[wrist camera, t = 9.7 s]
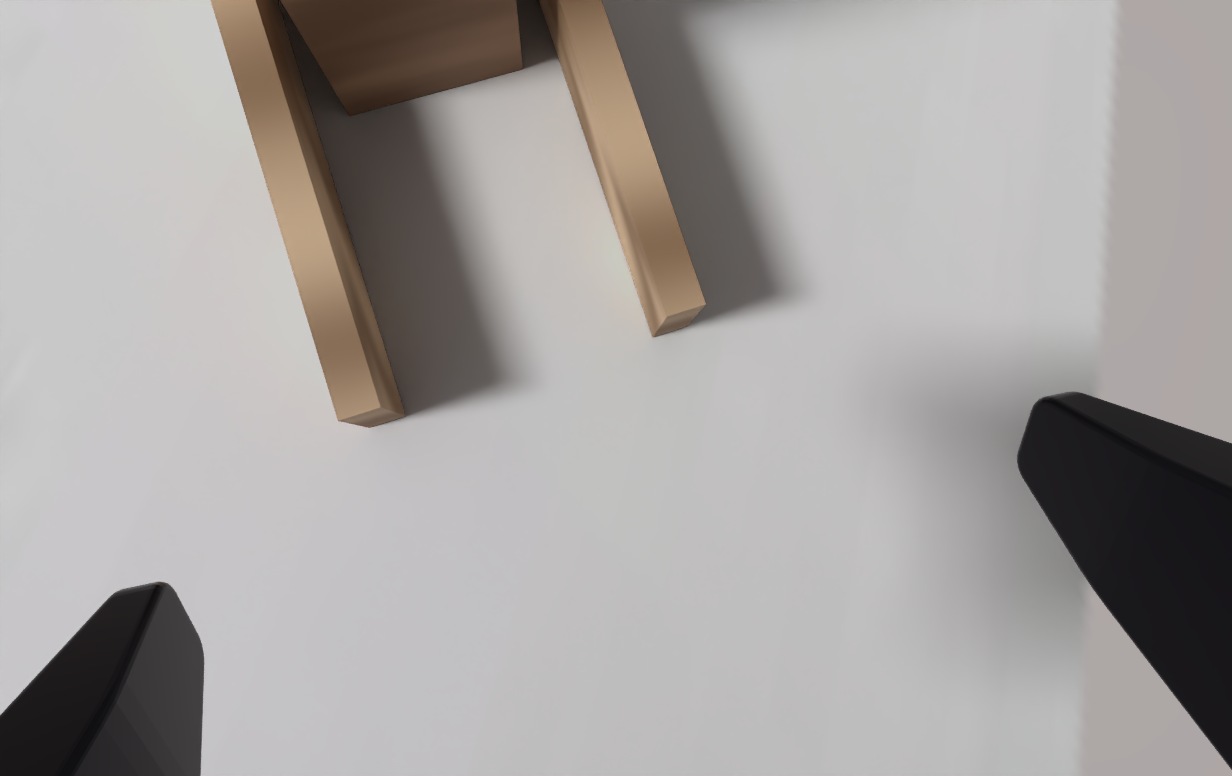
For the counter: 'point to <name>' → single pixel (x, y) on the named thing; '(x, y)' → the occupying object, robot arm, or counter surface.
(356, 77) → the tall brown box
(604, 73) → the wooden u-shaped frame
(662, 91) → the counter surface
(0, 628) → the counter surface
